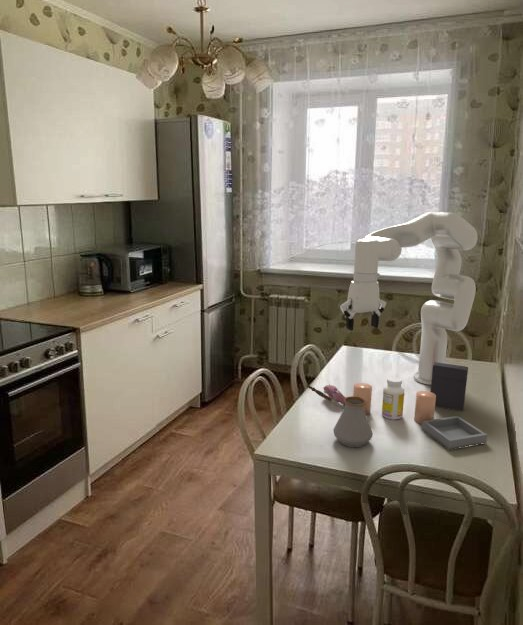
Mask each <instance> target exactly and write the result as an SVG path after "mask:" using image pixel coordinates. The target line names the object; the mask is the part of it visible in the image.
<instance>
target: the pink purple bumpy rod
mask: <svg viewBox="0 0 523 625" xmlns="http://www.w3.org/2000/svg"><path fill="white" fill-rule="evenodd" d="M323 393H324V394H325V395H327V396H328V397H330V398H331V399H332V400H334V401H336V402H337V403H339V404H341V405H343V406H346V405H345V403H344V398H346V397H347V396H345V395H344V394H342V392H341V391H340V390H339V389H338V388H337V387H336V386H334V385H331V384H330V383H328V384H327V385H325V386H323Z"/></svg>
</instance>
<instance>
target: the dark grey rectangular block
mask: <svg viewBox="0 0 523 625" xmlns="http://www.w3.org/2000/svg"><path fill="white" fill-rule="evenodd" d="M468 372H469V367H468V366H466V365H465V366H464V365H456V364H451V363H450V364H449V363H446V362H445V363H438V362H435V363H434V364H433V370H432V382H431V385H430V392H432V393H434V394H435V395H436V402H435V407H436V406H437V408H442V407H443V409H448V408H449V410H453V409H454V410H453V411H460V412H463V411H464V407H465V399H466V390H467V383H468V382H467V381H468V375H469V374H468Z"/></svg>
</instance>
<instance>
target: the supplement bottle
mask: <svg viewBox="0 0 523 625" xmlns="http://www.w3.org/2000/svg"><path fill="white" fill-rule="evenodd" d="M386 383H387V384H386V385H384V386H383V392H382V406H381V414H382V416H383V417H384V418H385V419H389V420H400V419H401V418H403V412H404V403H405V388H404V387H403V386H402V385H403V379H402V378H400V377H397V376H390V377H387V378H386Z"/></svg>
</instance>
